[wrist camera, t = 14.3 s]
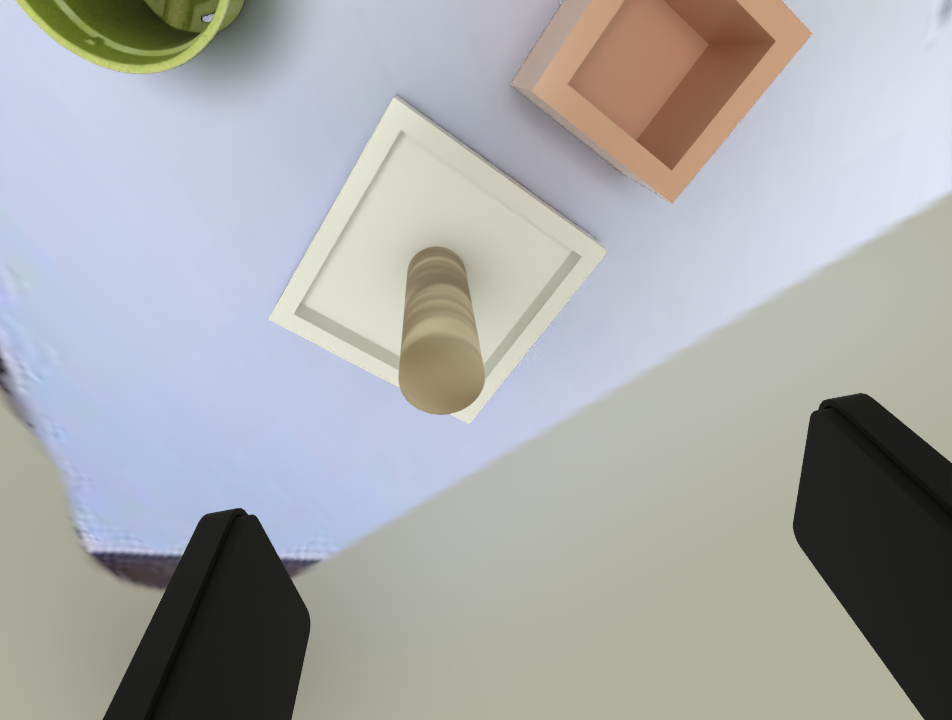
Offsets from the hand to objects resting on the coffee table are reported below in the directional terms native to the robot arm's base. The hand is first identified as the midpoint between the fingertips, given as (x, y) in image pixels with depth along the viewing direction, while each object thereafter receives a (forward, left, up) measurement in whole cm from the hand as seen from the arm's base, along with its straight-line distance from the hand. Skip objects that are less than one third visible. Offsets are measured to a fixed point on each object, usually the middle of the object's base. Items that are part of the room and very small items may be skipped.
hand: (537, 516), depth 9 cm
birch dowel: (+6, +2, -29) cm, 30 cm away
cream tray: (+6, +2, -30) cm, 30 cm away
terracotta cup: (-11, +4, -30) cm, 32 cm away
